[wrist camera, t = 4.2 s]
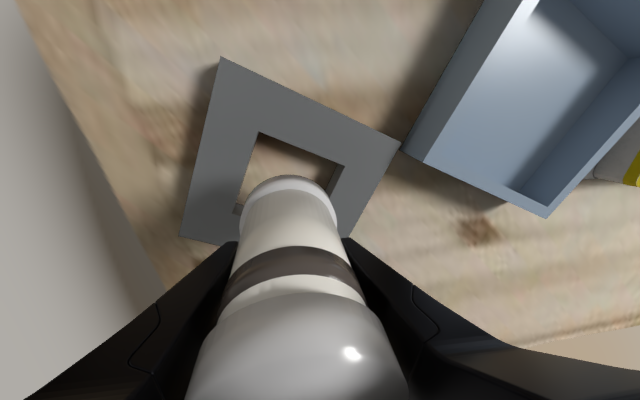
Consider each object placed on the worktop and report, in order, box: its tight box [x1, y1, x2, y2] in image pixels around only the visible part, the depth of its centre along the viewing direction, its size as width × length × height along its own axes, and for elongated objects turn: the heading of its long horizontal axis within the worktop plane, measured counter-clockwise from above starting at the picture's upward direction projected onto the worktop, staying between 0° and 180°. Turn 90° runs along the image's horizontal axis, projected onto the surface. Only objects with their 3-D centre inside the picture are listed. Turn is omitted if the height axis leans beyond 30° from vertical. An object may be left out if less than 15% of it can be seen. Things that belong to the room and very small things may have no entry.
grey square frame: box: [179, 56, 402, 246], centre depth 15 cm, size 11×11×2 cm
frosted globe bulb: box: [184, 175, 409, 400], centre depth 8 cm, size 4×4×8 cm
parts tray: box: [400, 0, 640, 219], centre depth 15 cm, size 12×12×3 cm
